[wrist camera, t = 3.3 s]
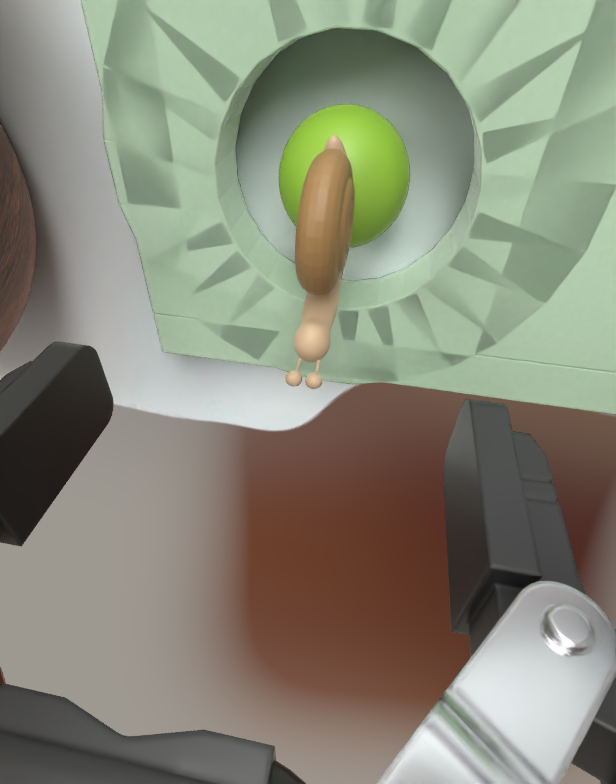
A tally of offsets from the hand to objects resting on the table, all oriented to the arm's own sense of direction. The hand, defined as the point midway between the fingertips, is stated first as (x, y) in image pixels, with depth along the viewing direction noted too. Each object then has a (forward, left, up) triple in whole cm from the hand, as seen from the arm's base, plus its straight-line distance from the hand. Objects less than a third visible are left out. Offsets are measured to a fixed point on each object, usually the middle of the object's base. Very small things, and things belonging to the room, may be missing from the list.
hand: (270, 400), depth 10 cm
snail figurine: (0, 0, -16) cm, 16 cm away
